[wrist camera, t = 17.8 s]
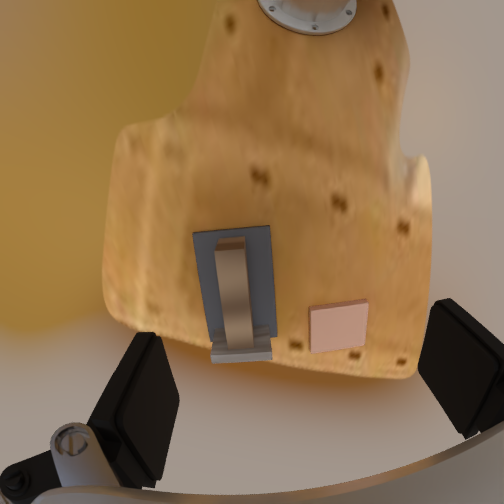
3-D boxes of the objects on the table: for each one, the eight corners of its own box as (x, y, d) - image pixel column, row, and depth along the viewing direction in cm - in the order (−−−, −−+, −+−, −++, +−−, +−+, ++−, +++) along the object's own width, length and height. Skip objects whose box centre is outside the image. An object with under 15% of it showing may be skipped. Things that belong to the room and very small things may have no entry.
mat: (193, 232, 35) (192, 233, 34) (269, 225, 35) (269, 226, 34) (211, 339, 39) (210, 341, 39) (276, 334, 39) (277, 336, 39)
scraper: (202, 239, 34) (193, 256, 29) (262, 234, 34) (264, 250, 29) (216, 335, 38) (212, 363, 33) (269, 332, 38) (272, 359, 33)
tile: (310, 310, 37) (310, 353, 39) (368, 302, 37) (364, 344, 39) (308, 305, 38) (309, 347, 41) (364, 297, 38) (361, 339, 40)
